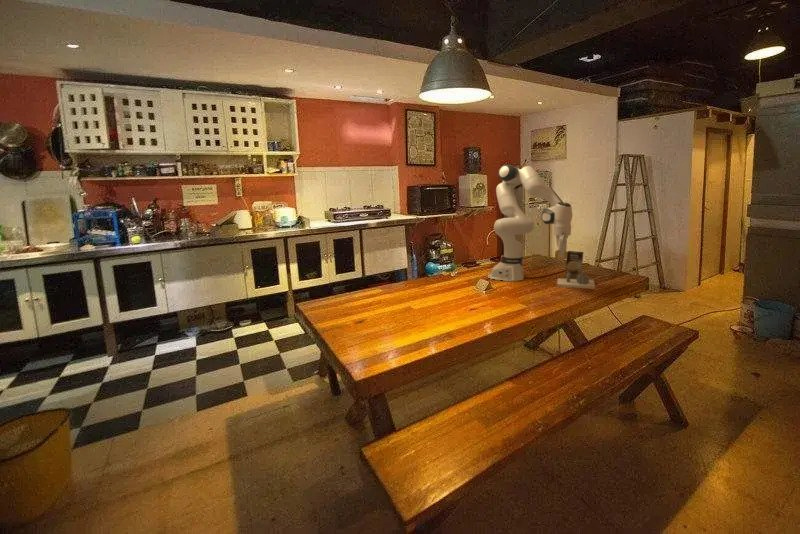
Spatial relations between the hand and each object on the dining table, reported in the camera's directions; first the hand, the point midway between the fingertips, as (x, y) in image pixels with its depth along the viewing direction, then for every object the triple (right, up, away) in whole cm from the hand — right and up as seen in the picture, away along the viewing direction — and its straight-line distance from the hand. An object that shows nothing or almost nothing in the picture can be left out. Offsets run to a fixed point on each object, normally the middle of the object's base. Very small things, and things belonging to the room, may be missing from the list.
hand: (560, 255), depth 225 cm
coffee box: (+18, -13, +26) cm, 34 cm away
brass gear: (0, -2, 0) cm, 2 cm away
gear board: (+12, -17, +9) cm, 23 cm away
